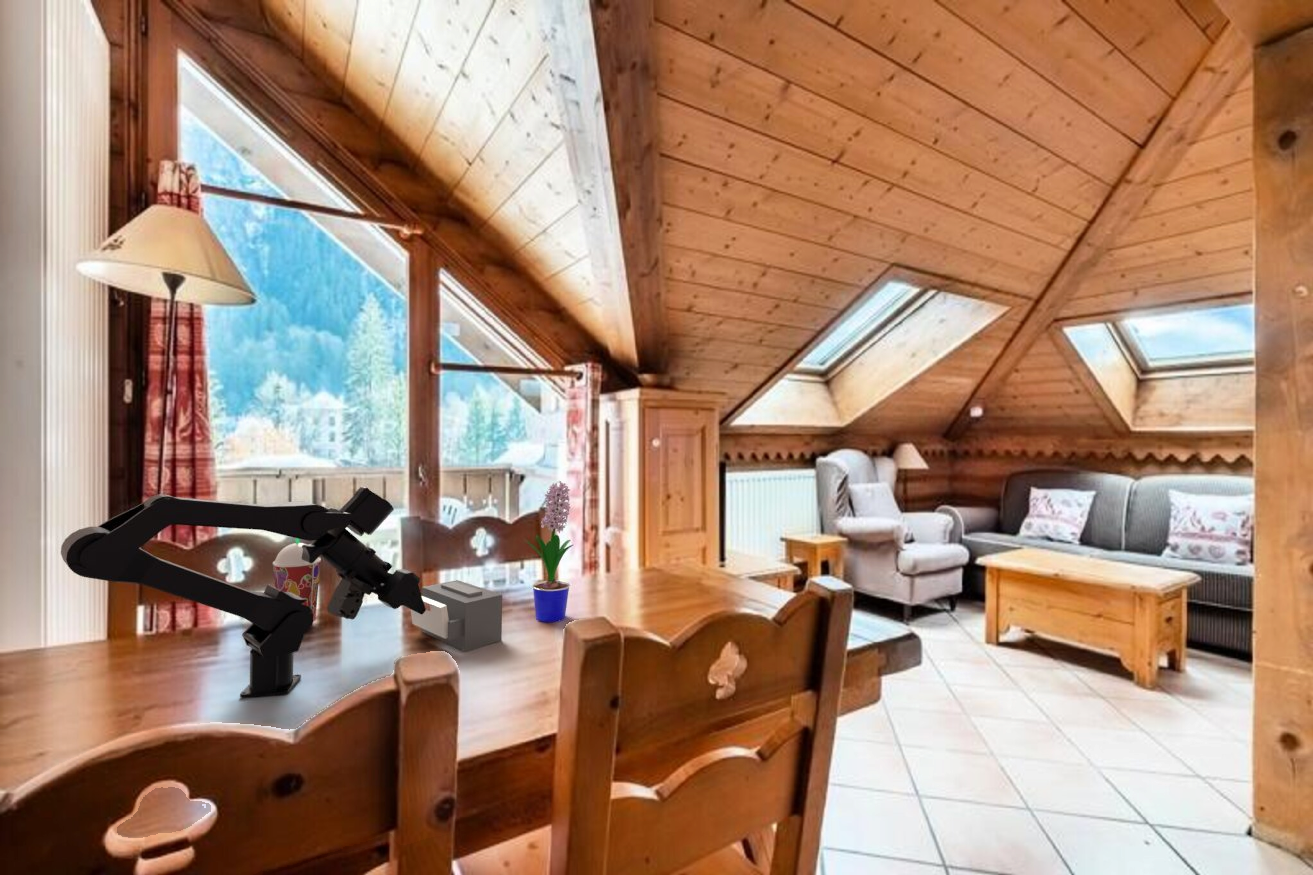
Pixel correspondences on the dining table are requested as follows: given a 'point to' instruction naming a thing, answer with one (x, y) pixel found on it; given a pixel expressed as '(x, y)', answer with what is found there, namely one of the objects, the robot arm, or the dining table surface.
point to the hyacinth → (552, 558)
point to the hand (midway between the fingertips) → (411, 606)
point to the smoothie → (297, 574)
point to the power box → (468, 614)
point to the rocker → (432, 618)
